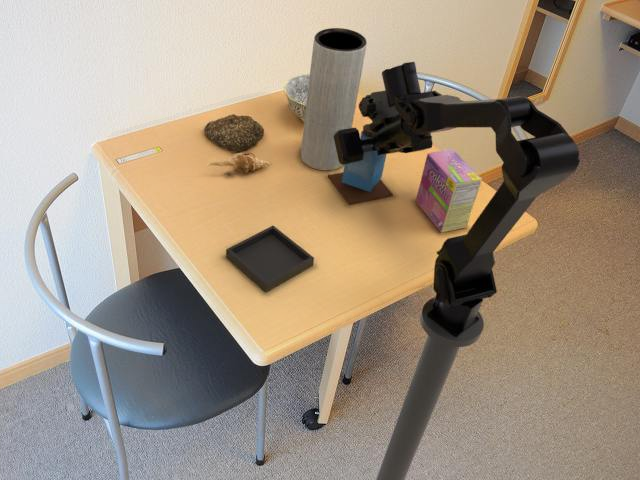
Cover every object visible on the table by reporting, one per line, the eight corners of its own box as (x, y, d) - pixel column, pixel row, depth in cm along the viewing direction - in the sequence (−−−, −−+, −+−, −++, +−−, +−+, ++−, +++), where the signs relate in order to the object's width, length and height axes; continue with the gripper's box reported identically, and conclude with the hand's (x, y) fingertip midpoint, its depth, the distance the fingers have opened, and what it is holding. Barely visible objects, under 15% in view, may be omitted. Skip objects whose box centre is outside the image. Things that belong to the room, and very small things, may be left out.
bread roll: (230, 158, 142) (231, 138, 138) (196, 132, 149) (196, 113, 145) (275, 138, 148) (276, 119, 145) (240, 115, 155) (241, 96, 151)
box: (414, 201, 133) (427, 152, 125) (438, 196, 134) (453, 148, 126) (440, 233, 126) (456, 184, 118) (465, 228, 127) (483, 179, 119)
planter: (292, 150, 145) (305, 31, 126) (331, 141, 148) (350, 24, 129) (313, 175, 138) (330, 54, 120) (354, 165, 141) (377, 46, 123)
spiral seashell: (256, 156, 143) (257, 138, 140) (271, 167, 140) (272, 149, 137) (205, 177, 137) (205, 159, 134) (219, 189, 134) (219, 170, 131)
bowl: (272, 104, 159) (275, 76, 154) (334, 97, 162) (338, 69, 157) (294, 140, 148) (297, 110, 143) (359, 132, 151) (364, 103, 146)
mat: (392, 196, 134) (393, 194, 134) (348, 205, 131) (349, 203, 131) (370, 168, 141) (370, 167, 141) (327, 176, 138) (328, 175, 138)
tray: (313, 265, 118) (314, 257, 117) (265, 292, 113) (266, 284, 112) (272, 233, 124) (273, 225, 123) (225, 257, 119) (226, 249, 118)
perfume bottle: (381, 177, 135) (392, 125, 127) (370, 191, 131) (380, 139, 123) (354, 167, 138) (362, 116, 130) (341, 182, 134) (349, 130, 126)
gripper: (438, 79, 119) (396, 104, 134) (345, 93, 114) (312, 117, 129) (451, 139, 119) (407, 157, 134) (358, 155, 114) (324, 173, 129)
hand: (363, 150), depth 131 cm, fingers closed on perfume bottle, 9 cm apart
